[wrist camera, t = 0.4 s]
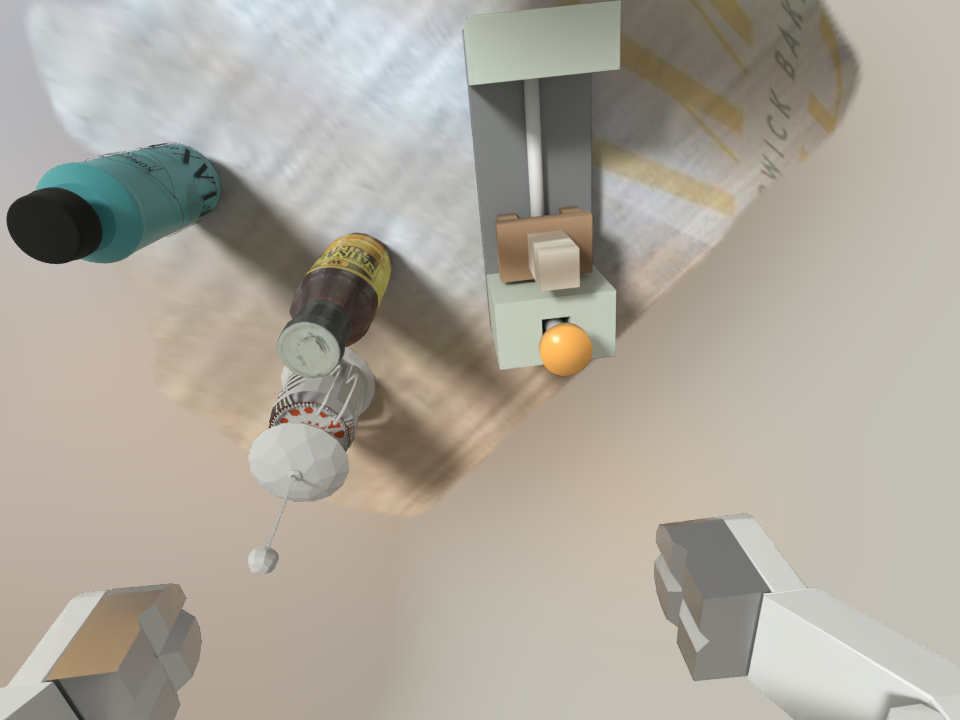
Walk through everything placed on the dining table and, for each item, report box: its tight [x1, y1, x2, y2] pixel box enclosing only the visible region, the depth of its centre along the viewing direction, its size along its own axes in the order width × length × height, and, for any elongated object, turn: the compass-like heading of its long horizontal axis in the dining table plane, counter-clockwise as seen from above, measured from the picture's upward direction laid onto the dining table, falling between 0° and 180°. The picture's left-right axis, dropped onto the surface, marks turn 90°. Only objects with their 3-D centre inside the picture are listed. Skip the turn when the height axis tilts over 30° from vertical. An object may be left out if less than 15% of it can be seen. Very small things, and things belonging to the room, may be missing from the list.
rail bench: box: [463, 0, 621, 370], centre depth 46 cm, size 26×10×10 cm, turn 6°
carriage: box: [495, 206, 593, 291], centre depth 46 cm, size 5×8×10 cm, turn 96°
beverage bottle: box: [7, 142, 221, 264], centre depth 39 cm, size 6×7×20 cm
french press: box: [248, 347, 375, 574], centre depth 46 cm, size 10×12×25 cm
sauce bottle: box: [277, 233, 392, 378], centre depth 43 cm, size 7×6×20 cm
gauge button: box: [539, 318, 593, 376], centre depth 45 cm, size 4×4×6 cm
